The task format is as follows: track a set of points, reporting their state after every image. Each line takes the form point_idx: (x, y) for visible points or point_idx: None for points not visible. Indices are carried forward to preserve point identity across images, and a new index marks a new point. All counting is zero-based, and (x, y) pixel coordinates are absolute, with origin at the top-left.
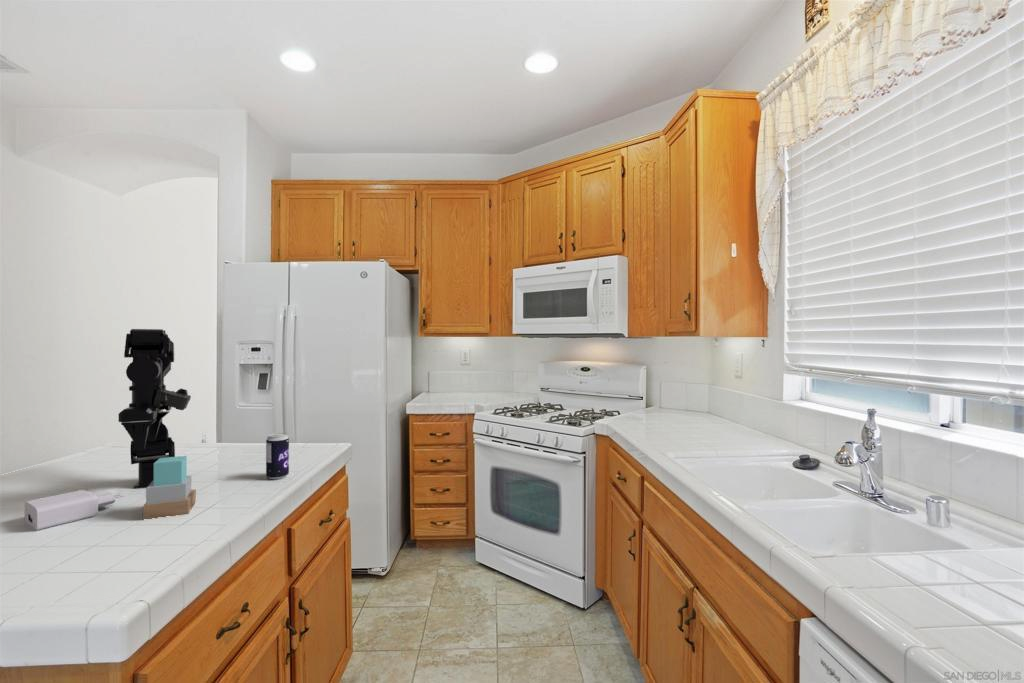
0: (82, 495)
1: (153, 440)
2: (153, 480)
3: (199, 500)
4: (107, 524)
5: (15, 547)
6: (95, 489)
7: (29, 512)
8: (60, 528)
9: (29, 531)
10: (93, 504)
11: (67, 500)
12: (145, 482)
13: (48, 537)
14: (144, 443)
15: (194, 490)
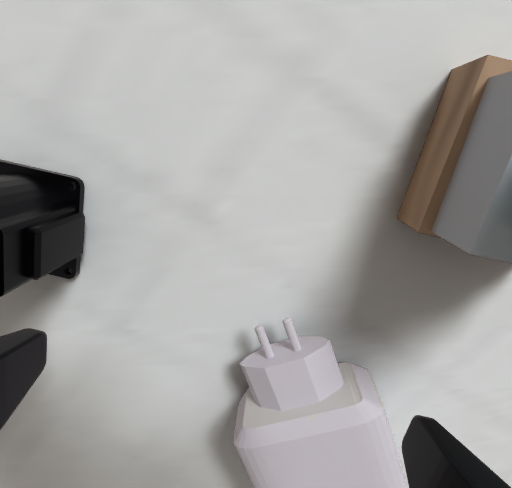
0: (342, 445)
1: (40, 344)
2: (491, 258)
3: (433, 52)
4: (481, 335)
5: None
6: None
7: None
8: None
9: None
10: (378, 396)
11: (379, 475)
12: (78, 247)
13: (477, 440)
14: (491, 472)
15: (507, 62)
